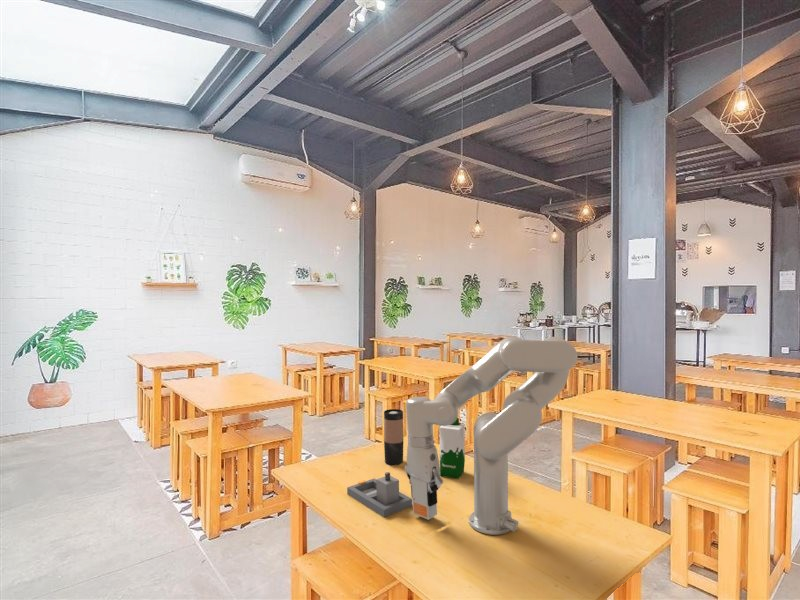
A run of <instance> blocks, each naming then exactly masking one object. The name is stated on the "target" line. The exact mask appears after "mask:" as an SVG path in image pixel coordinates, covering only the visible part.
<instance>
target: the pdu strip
mask: <svg viewBox="0 0 800 600" xmlns="http://www.w3.org/2000/svg"><path fill="white" fill-rule="evenodd" d="M376 479H377V478H372V479H369V480H361V481H359V482H358V483H357V484H354V485H353V484H352V485H350V486H347V488H346V489H347V491H346V493H347V494H346V495H348V496H349V497H351V498H352V499H354V500H356V501H357V502H358V503H361V504H362V505H364V506H365V507H366V508H369V509H370V510H371V511H373V512H374V513H376V514H378V515H380V516H381V517H382V518H386V517H387V518H388V517H389V516H392V515H394V514H396V513H398V512H401V511H404V510H406V509H409V508H410V507H413V500H412V497H410V496H408V495H406V494H404V493H402V492H400V491H399V501H398V502H395V503H393V504H390V505H388V506H384V505H383V504H381V503H379V502H378V501H377V487H376Z"/></svg>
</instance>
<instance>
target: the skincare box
mask: <svg viewBox="0 0 800 600" xmlns="http://www.w3.org/2000/svg"><path fill="white" fill-rule="evenodd" d="M411 480H412V495H411V498H412V513H413V515H416V516H419V517H421V518H422V519H423V518H424V519H426V520H430V519H432V518H434V517H435V516H437V515H438V506H437V504H438V503H437V504H435V505H433V506H428V497H427V492H429V491H428V488H427V483H426V482H424V481H421V480H419V478H418V477H417V476H415V475H413V474H411ZM431 480H432V478H431ZM430 484H431V487H432V486H433V483H432V482H431V483H430Z"/></svg>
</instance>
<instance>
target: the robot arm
mask: <svg viewBox="0 0 800 600" xmlns="http://www.w3.org/2000/svg"><path fill="white" fill-rule="evenodd" d="M577 362H578V353H577V349H576V348H575V346H574V345H573V344H572V343H571V342H569V341H567V340H565V339H563V338H561V337H558V336H549V337H547V338H545V339H544V340H535V339H534V340H533V339H522V337H519V336H517V335H516V336H515V335H510V336H506V337H505V338H503V339H502V340H501V341H499V342H498V343H497V344H496V345H495V346H493V348H492V349H490V350H489V351H488V352H487V353H486V354H485V355H484V356H482V357H481V358H479V360H478V361H476V362H475V363H474V364H473V365H471V367H469V368H467V369H466V370H465V371H464V372H462V374H460V375H458V377H457V378H455V379H453V381H452V382H450V383H449V384H447V386H446V387H445V388H443V389H442V390H441V391H440V392H439V393H438V394H437V395H436V396H435V398H434V400H431V399H430V398H428V397H426V396H413V397H409V398H408V399H407V400H406V403H405V411H406V412H405V413H406V426H407V427H406V428H407V448H406V465H405V466H404V468H403V469H404V471H405V473H406V476H407V478H408V480H409V481H408V482H409V484H410V489H411V490H410V492H411V493H410V495H411V496H412V480H411V474H413V475H415V476H417V477H418V478H419V480H421V481H424V482H426V483H427V488H428V491H429V492H427V497H428V506H433V505H435V504H438V491H439V489H440V488H441V487H442V485H443V484H444V480H443V478H442V476H440V457H439V453H438V450H437V447H436V446H437V445H435V439H434V425H436V426H441V425H443V426H447V425H451V424H453V423H454V422H455V421H456V419H457V418H459V417H458V416H459V409H461V407H463V406H464V405H465V404H466V403H467V402H468V401H470V400H471V399H472V398H473V397H475V396H477V395H479V394H482V393H486V392H490V391H491V390H493V389H494V388H496V386H498V385H499V384H500V383H501V382H502V381H503V380H505V379H506V378H507V377H508V376H509V375H510V374H512V373H513V372H514V371H516V372H524V373H525V372H527V373H533V374H532V375H530V377H529V378H528V379H527V380H525V381H524V382H522V384H521V385H520V386H518V387H517V388H516V389H515V390H514V391H511V393H509V394H508V395H506V397H505V398H504V400H503V404H502V411H501V410H500V412H499V413H498V414H497V413H494V412H485V413H483V414H481V415H480V416H478V417H477V419H476V420H475V422H474V424H473V432H472V433H473V465H474V466H473V481H474V482H473V483H474V484H473V489H474V491H473V492H474V494H473V497H474V498H473V499H474V500H473V501H474V502H473V503H474V504H473V505H474V506H473V509H474V510H473V512H472V513H471V514H470V515H469V517H468V524H469V525H470V527H471V528H472V529H473V530H475V531H477V532H479V533H481V534H487V535H492V536H497V535H504V534H507V533H509V532H510V531H512V532H514V533H515V532H516V531H517V530H518V526H519V521H518V520H517V519H513V518H512V511H511V510H510V509H509V479H508V478H509V455H508V454H510V453H511V452H513V451H514V450H515V449H516V448H518V447H519V445H521V444H522V443H523V442H525V441H526V440H527V439H528V438H530V437H531V436H532V435H534V433H535V432H536V431H537V430H538V429H539V427H540V425H541V424H542V421H543V412H542V410H543V409H544V408H545V407H547V406H548V404H550V403H551V402H552V401H554V399H555V398H556V397H557V396H558V395H560V393H561V392H562V391H563V389H564V388H565V386H566V384H567V381H568V378H569V375H570V370H572V369H574V367H575V366H576V364H577ZM431 478H432V480H431ZM431 482H432V483H433V486H432V487H431V484H430V483H431Z"/></svg>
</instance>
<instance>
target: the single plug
mask: <svg viewBox="0 0 800 600" xmlns="http://www.w3.org/2000/svg"><path fill="white" fill-rule="evenodd" d="M375 479H376V487H377V501H378V502H379V503H381V504H383V505H384V506H388V505H390V504H393V503H395V502H398V501H399V492H400V480H399V479H398V478H396V477H394V476H392V475H391V472H384V476H383V477H379V478H375Z"/></svg>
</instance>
